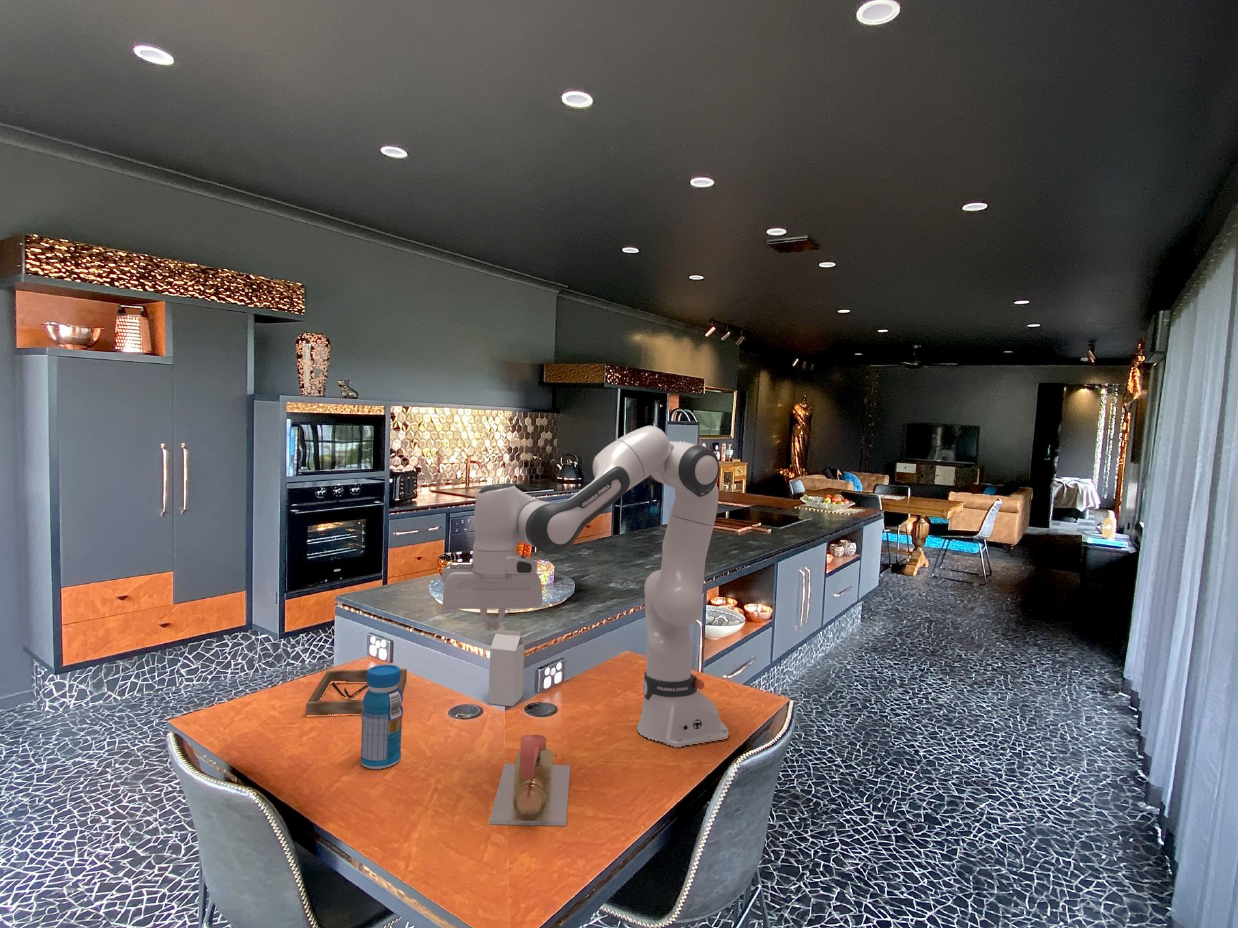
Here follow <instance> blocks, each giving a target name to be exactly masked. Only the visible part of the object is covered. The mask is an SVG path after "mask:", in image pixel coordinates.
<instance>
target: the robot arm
mask: <svg viewBox="0 0 1238 928" xmlns="http://www.w3.org/2000/svg"><path fill="white" fill-rule="evenodd" d="M592 473H593V476H594V479H593V480H592V481H591V482H590V483H589V484H587V485H586V486H585V487H583V488H582V489H580V490H579V491H578V492H576V493H575V494H573V496H571V497H570V498H568V499H566V500H563V501H558V502H549V501H545V500H541V499H538V498H536V497H534V496H531V495H529V494H527V493H525V492H524V491H522V490H520V489H519V488H517V487H516V485H515V484H513V483H493V484H490V485H487V486H485V487H484V486H483V488H481V489H480V490H479V491H478V493H477V495H476V499H475V505H474V512H473V513H474V514H473V530H474V535H475V537H474V542H473V545H472V562H450V563H449V564H446V565H445V566H443V568H442V570H441V582H442V583H443V584H444V587H443V594H442V606H443V607H444V608H445V610H479V614H480V616H481V618H482V619H483V622H484V631H496V630H500V625H501V624H500V622H502V620H503V619H504V617H505V615H506V609H539V608H540V607H542V605H543V602H544V601H543V587H542V581H541V578H540V576H539V574H538V573H537V571H538V562H537V561H536V560H535V559H533V558H532V557H529V556H526V555H522V554H519V553H517V546H518V544H520V543H525V544H527V545H528V546H531V547H533V548H536V549H537V550H539V551H540V552H542V553H545V554H548V555H558V554H561V553H563V552H564V551H567V550H568V549H569V548H570V547H572V545H573V544H574V543H575V542H576V540H577V539H578V537H579V536H580V534H581V532H583V530H584V529H585V528H586V526H587V525H588V524H590V522H592V521H593V520H594V519H596V518H597V517H598V516H599V515H601V514H602V513H604V512H605V511H606V510H607V509H608V508H610V507H611V506H612V505H613V504H614V503H616V502H617V501H618V500H619V499H620V498H621V497H623V495H624V494H626V493H627V492H628V491H629V490H631V489H632V488H633V487H635V486H637V485H638V484H641V482H643V481H644V480H646V479H647V478H650V480H651V481H654V482H656V483H661V484H663V485H666V486H668V487H671V488H674V492H675V493H674V495H675V498H674V501H673V504H672V507H671V510H670V515H669V517H668V522H667V526H666V529H665V533H664V537H663V541H662V546H661V549H662V550H661V551H662V553H661V554H662V555H661V566H660V569H658V570H655V571H653V572H651V573H650V574H649V575H648V576H647V577H646V580H645V581H644V587H643V590H644V605H645V606H644V607H645V608H644V610H645V612H644V614H645V626H646V627H645V628H646V641H647V642H646V645H647V646H646V665H645V666H646V667H645V668H646V671H644V675H643V676H644V678H643V683H642V684H643V686H642V692H643V693H642V694H643V703H642V709H641V714H640V717H639V721H638V724H637V726H636V731H637V730H638V731H637V732H638V733H640V734H639V735H641V736H642V735H643V736H644V737H643V736H642V737H643V738H645V737H647V738H648V740H650V739H652V740H651V741H653V740H655V741H654V742H657V741H660V742H659V743H661V742H663V743H662V744H665V743H666V744H665V745H667V746H669V745H671V746H670V747H672V746H673V747H672V748H682V746H684V747H686V746H685V745H690V746H693V745H692V744H695V743H703V742H707V741H715V740H718V739H725V738H727V737H728V735H729V736H730V732H729V729H728V727H727V726H726V724H725V722H723V721H721V718H720V714H719V710H718V708H717V706H716V704H715V703H714V702H713V701H712V700H710V698H709V697H707V696H706V694H704V693H702V692H701V691H700V690H703V689H704V688H705V682H704V681H703V680H702V679H700V678H698V677H697V676H696V675H694V674H693V673H692V660H693V659H692V658H693V656H692V655H693V641H692V637H691V632H690V626H691V625H694V623H696V622H697V621H698V620H699V618H700V617H701V616H702V613H703V609H704V601H703V590H704V588H703V587H704V582H705V581H704V580H705V568H706V559H707V556H708V555H707V554H708V549H709V547H710V542H711V539H712V538H711V537H712V534H713V530H714V528H715V527H714V526H715V523H716V522H715V521H716V517H717V513H718V505H719V494H720V493H719V488H718V486H717V483H718V479H719V475H720V462H719V457H718V456H717V454H716V453H715V452H714V451H713V450H712V449H710V448H708V447H706V446H704V445H700V444H695V443H691V442H687V441H676V440H675V441H673V440H669V438H668V436H667V434H665V432H664V430H662V429H661V428H659V427H657V426H654V425H646V426H643V427H640V428H637V429H635V430H632V431H631V432H628V433H626V434H625V435H622V436H620V437H619V438H617V439H616V440H614V441H613V442H611V443H610V444H608V445H606V446H605V447H604V448H603V449H602V450H601V451H600V452H598V453H597V454H596V455H595V457H594V459H593V462H592ZM490 609H491V610H492V609H494V610H495V609H497V610H498V611H497V612H498V616H497V618H496V619H489V618H488V616H487V614H488V610H490ZM647 738H646V739H647ZM703 744H704V743H703Z"/></svg>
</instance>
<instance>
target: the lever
mask: <svg viewBox="0 0 1238 928" xmlns="http://www.w3.org/2000/svg"><path fill="white" fill-rule="evenodd" d="M546 748H547V738H546V737H545V736H544V735H541V734H524V735H521V737H520V749H519V750H520V771H519V777H520V778H521V779H523V780H529V779H532V778H533V777H534V769H535V765H536V761H537V757H538V754H539V752H541V751H544V750H545V749H546Z"/></svg>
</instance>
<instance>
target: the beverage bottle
mask: <svg viewBox="0 0 1238 928" xmlns="http://www.w3.org/2000/svg"><path fill="white" fill-rule="evenodd" d="M400 669H401V667H399V666H397V665H394V664H379V665H373V666H372V667H370V668H368V669H367V670H368V672H367V683H366V685H367V686H368V687H367V688H368V690H367V691H365V694H364V696H363V698H362V700H363V706H364V709H363V710H362V714H361V716H360V717H361V741H360V742H361V743H360V745H361V749H360V763H361V766H363V767H365V768H366V767H367V769H371V770H382V768H383V769H387V768H386V767H388V768H390V766H391V767H393V766H395V765H396V764H398V763H399V762H400V760H401V757H402V751H401V750H402V749H401V748H402V729H403V728H402V727H403V715H404V707H403V706H402V703H403V701H404V696H403V695H402V693H401V691H400V689H399V688H398V686H397V685H399V682H400ZM392 765H393V766H392Z"/></svg>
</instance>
